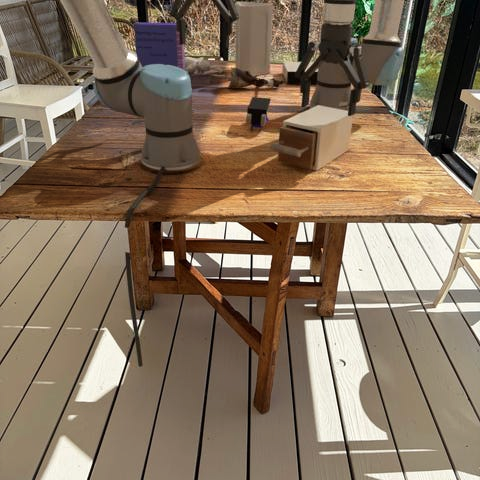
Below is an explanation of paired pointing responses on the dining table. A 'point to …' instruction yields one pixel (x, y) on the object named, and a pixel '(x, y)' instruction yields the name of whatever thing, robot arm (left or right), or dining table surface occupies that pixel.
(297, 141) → the drawer
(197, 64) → the toy
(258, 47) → the tall white carton
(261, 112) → the figurine character
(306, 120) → the cabinet
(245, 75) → the figurine
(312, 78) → the disc drive
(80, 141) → the dining table surface
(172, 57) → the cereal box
